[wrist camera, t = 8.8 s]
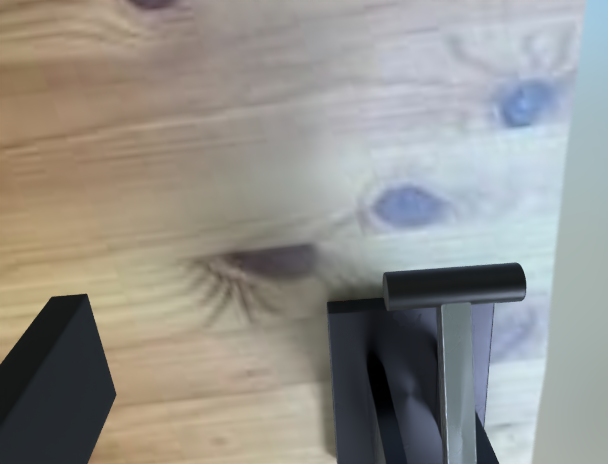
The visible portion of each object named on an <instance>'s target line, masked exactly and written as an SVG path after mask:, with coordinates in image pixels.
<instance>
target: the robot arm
mask: <svg viewBox="0 0 608 464" xmlns="http://www.w3.org/2000/svg"><path fill="white" fill-rule="evenodd" d="M115 397H116V391H115V388H114V384H113V381H112V378H111V374H110V371H109V367H108V364H107V360H106V357H105V354H104V350H103V347H102V343H101V340H100V336H99V333H98V330H97V326H96V323H95V319H94V316H93V312H92V309H91V305H90V302H89V299H88V295H87V294H79V295H67V296H56V297H51V298H50V300H49V301H48V302H47V304H46V305H45V306H44V308H43V309H42V310H41V312H40V313H39V314H38V315H37V317H36V318H35V319H34V321H33V322H32V323H31V325H30V326H29V327H28V329H27V330H26V331H25V333H24V334H23V335H22V337H21V338H20V339H19V341H18V342H17V343H16V344H15V346H14V347H13V348H12V350H11V351H10V352H9V354H8V355H7V356H6V358H5V359H4V360H3V362H2V363H1V364H0V464H87V463H88V461H89V459H90V456H91V454H92V452H93V449H94V447H95V445H96V442H97V440H98V437H99V435H100V433H101V430H102V428H103V426H104V423H105V421H106V418H107V416H108V414H109V411H110V409H111V407H112V404H113V402H114V400H115Z"/></svg>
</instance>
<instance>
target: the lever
mask: <svg viewBox="0 0 608 464" xmlns="http://www.w3.org/2000/svg"><path fill="white" fill-rule="evenodd" d="M383 295H384V302H385V306H386V309H387V310H388V311H394V310H408V309H421V308H435V307H436V325H437V347H438V369H439V391H440V413H441V436H442V458H443V464H477V454H476V426H475V399H474V371H473V344H472V317H471V305H476V304H489V303H503V302H516V301H522V300H523V299H524V298H525V295H526V278H525V274H524V271H523V269H522V267H521V265H520V264H519V263H504V264H491V265H477V266H464V267H450V268H437V269H423V270H410V271H396V272H385V273H384V274H383Z"/></svg>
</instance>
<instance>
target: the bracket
mask: <svg viewBox="0 0 608 464" xmlns="http://www.w3.org/2000/svg"><path fill="white" fill-rule="evenodd" d="M493 312H494V303H489V304H476V305H471V317H472V344H473V371H474V399H475V426H476V454H477V464H499V462H498V460H497V457H496V455H495V453H494V451H493V448H492V446H491V444H490V441H489V439H488V437H487V435H486V432H485V430H484V422H485V410H486V398H487V385H488V373H489V361H490V349H491V337H492V325H493ZM327 317H328V332H329V348H330V364H331V379H332V395H333V410H334V426H335V442H336V457H337V464H443V458H442V436H441V413H440V391H439V369H438V347H437V325H436V307H435V308H421V309H408V310H394V311H388V310H387V309H386V306H385V302H384V298H375V299H362V300H348V301H335V302H327Z"/></svg>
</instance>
